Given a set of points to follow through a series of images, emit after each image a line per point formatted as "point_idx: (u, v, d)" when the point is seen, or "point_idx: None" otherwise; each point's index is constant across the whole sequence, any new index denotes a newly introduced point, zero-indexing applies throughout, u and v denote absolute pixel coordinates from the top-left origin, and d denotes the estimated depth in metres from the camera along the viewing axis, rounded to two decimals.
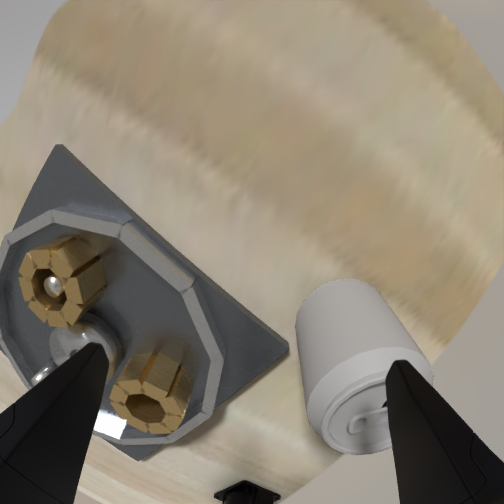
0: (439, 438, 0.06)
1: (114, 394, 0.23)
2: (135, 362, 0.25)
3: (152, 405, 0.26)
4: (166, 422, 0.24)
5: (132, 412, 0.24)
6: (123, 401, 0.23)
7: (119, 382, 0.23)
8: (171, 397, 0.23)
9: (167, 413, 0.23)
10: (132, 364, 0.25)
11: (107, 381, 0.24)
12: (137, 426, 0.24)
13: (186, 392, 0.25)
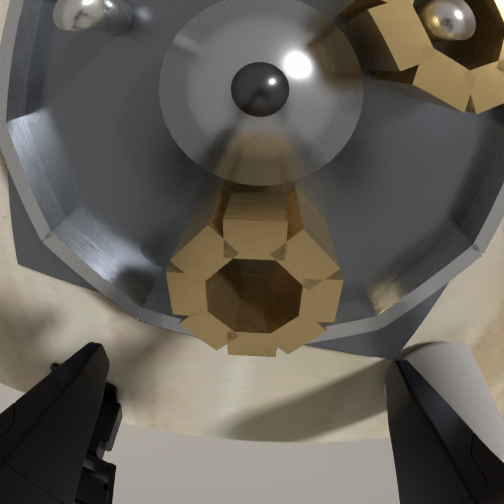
0: (439, 438, 0.06)
1: (251, 229, 0.10)
2: (309, 210, 0.12)
3: (216, 272, 0.14)
4: (244, 338, 0.13)
5: None
6: (241, 254, 0.11)
7: (304, 233, 0.10)
8: (323, 329, 0.12)
9: (272, 334, 0.13)
10: (307, 210, 0.12)
11: (235, 178, 0.11)
12: (178, 296, 0.12)
13: None
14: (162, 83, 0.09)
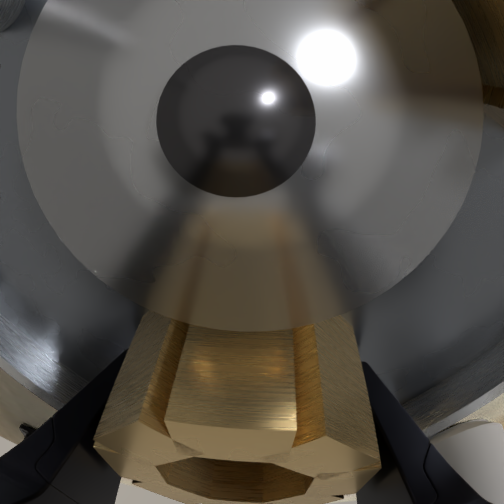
0: (390, 446, 0.06)
1: (221, 436, 0.04)
2: (333, 342, 0.07)
3: None
4: (225, 503, 0.07)
5: None
6: (208, 455, 0.05)
7: (326, 439, 0.04)
8: (338, 498, 0.07)
9: (265, 503, 0.07)
10: (330, 347, 0.07)
11: (189, 318, 0.05)
12: (120, 467, 0.06)
13: None
14: (21, 121, 0.04)
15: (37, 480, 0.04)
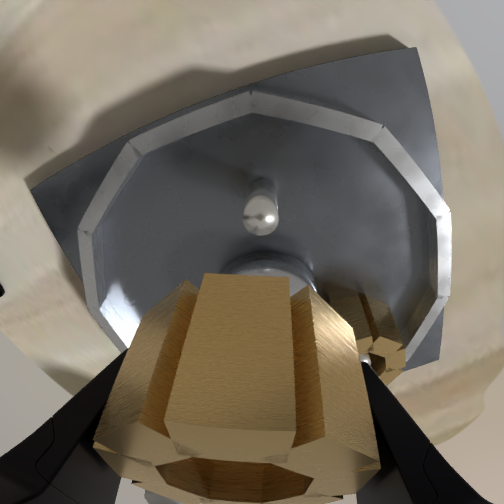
0: (390, 446, 0.06)
1: (221, 436, 0.04)
2: (333, 343, 0.07)
3: None
4: (224, 503, 0.07)
5: None
6: (208, 455, 0.05)
7: (326, 440, 0.04)
8: (338, 498, 0.07)
9: (264, 503, 0.07)
10: (329, 347, 0.07)
11: None
12: (120, 467, 0.06)
13: None
14: None
15: (38, 480, 0.04)
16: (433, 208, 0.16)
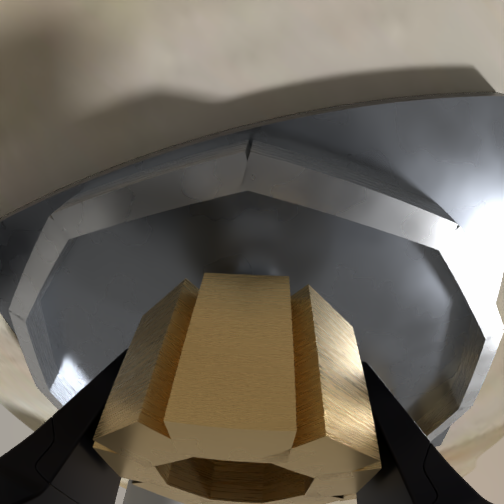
0: (390, 446, 0.06)
1: (221, 435, 0.04)
2: (333, 342, 0.07)
3: None
4: (225, 503, 0.07)
5: None
6: (208, 455, 0.05)
7: (326, 439, 0.04)
8: (338, 498, 0.07)
9: (264, 503, 0.07)
10: (330, 347, 0.06)
11: None
12: (120, 467, 0.06)
13: None
14: None
15: (37, 480, 0.04)
16: (486, 328, 0.10)
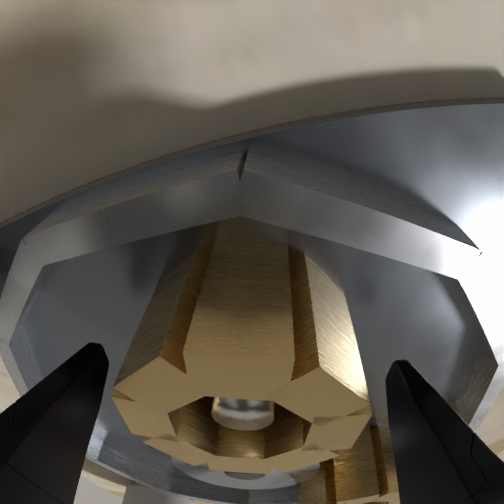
0: (439, 438, 0.06)
1: (231, 366, 0.06)
2: (326, 300, 0.08)
3: None
4: (229, 461, 0.08)
5: None
6: (218, 392, 0.06)
7: (320, 371, 0.06)
8: (335, 454, 0.08)
9: (266, 459, 0.08)
10: (323, 303, 0.08)
11: (181, 469, 0.13)
12: (134, 420, 0.07)
13: None
14: None
15: None
16: (500, 354, 0.09)
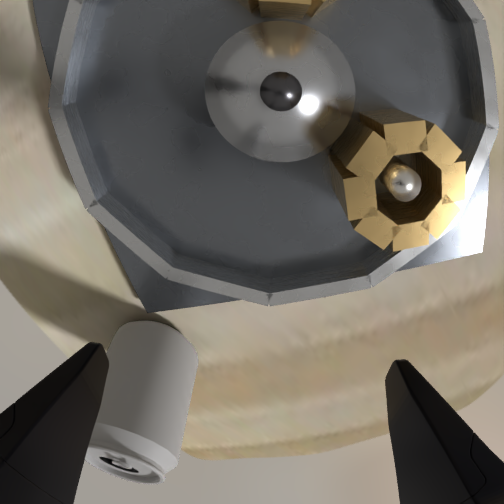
0: (439, 438, 0.06)
1: None
2: None
3: None
4: None
5: None
6: None
7: None
8: None
9: None
10: None
11: (210, 107, 0.13)
12: None
13: (324, 6, 0.11)
14: (252, 28, 0.11)
15: None
16: (467, 8, 0.10)
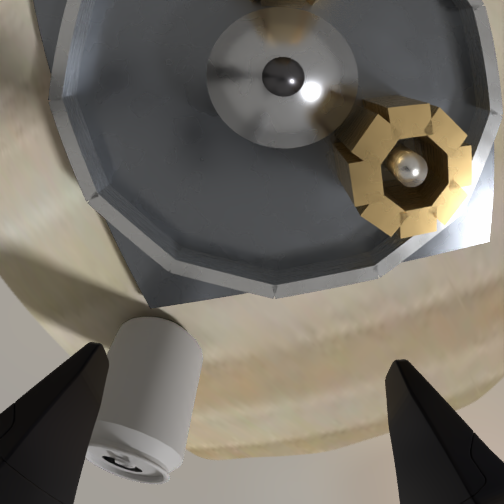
0: (439, 438, 0.06)
1: None
2: None
3: None
4: None
5: None
6: None
7: None
8: None
9: None
10: None
11: (212, 94, 0.13)
12: None
13: None
14: (253, 14, 0.11)
15: None
16: None
